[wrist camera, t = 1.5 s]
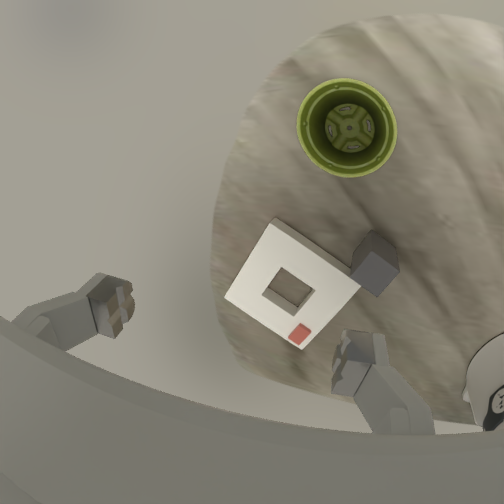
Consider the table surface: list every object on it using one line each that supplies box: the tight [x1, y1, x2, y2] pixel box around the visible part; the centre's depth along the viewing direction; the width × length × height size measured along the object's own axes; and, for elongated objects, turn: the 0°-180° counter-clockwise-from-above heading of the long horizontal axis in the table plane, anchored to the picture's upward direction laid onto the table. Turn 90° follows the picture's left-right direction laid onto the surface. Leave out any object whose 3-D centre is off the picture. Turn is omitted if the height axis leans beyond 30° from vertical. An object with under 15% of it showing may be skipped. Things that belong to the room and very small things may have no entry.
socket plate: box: [224, 217, 361, 350], centre depth 42 cm, size 14×14×3 cm
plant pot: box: [297, 78, 397, 178], centre depth 29 cm, size 9×9×9 cm
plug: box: [350, 230, 400, 297], centre depth 34 cm, size 4×4×7 cm
